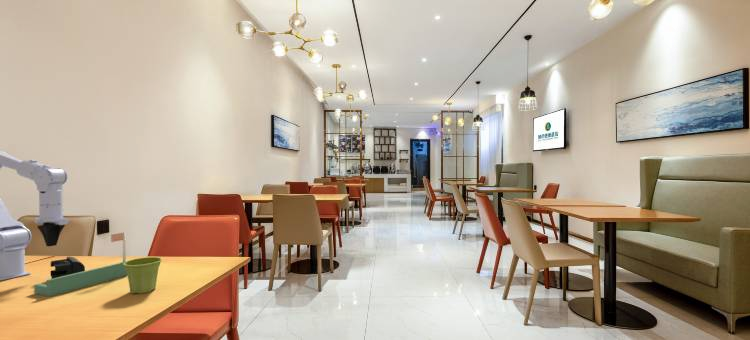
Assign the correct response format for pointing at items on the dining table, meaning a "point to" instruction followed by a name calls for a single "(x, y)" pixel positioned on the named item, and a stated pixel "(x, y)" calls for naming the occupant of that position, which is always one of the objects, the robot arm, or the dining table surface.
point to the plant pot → (142, 274)
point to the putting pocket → (85, 275)
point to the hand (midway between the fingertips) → (51, 245)
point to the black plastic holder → (66, 267)
